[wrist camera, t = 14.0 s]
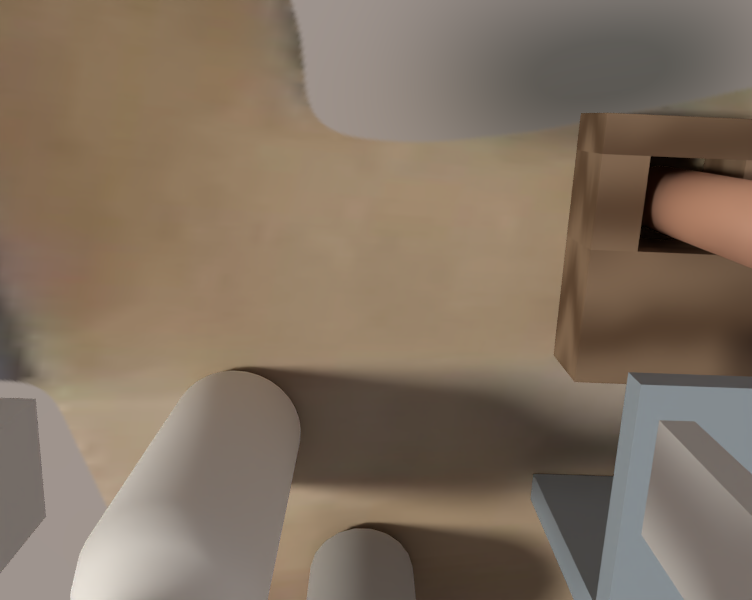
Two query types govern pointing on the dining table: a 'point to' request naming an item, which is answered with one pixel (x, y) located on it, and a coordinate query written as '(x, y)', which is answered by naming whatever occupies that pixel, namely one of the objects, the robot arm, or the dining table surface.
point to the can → (361, 568)
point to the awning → (635, 485)
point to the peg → (701, 210)
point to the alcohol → (200, 500)
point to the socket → (649, 258)
